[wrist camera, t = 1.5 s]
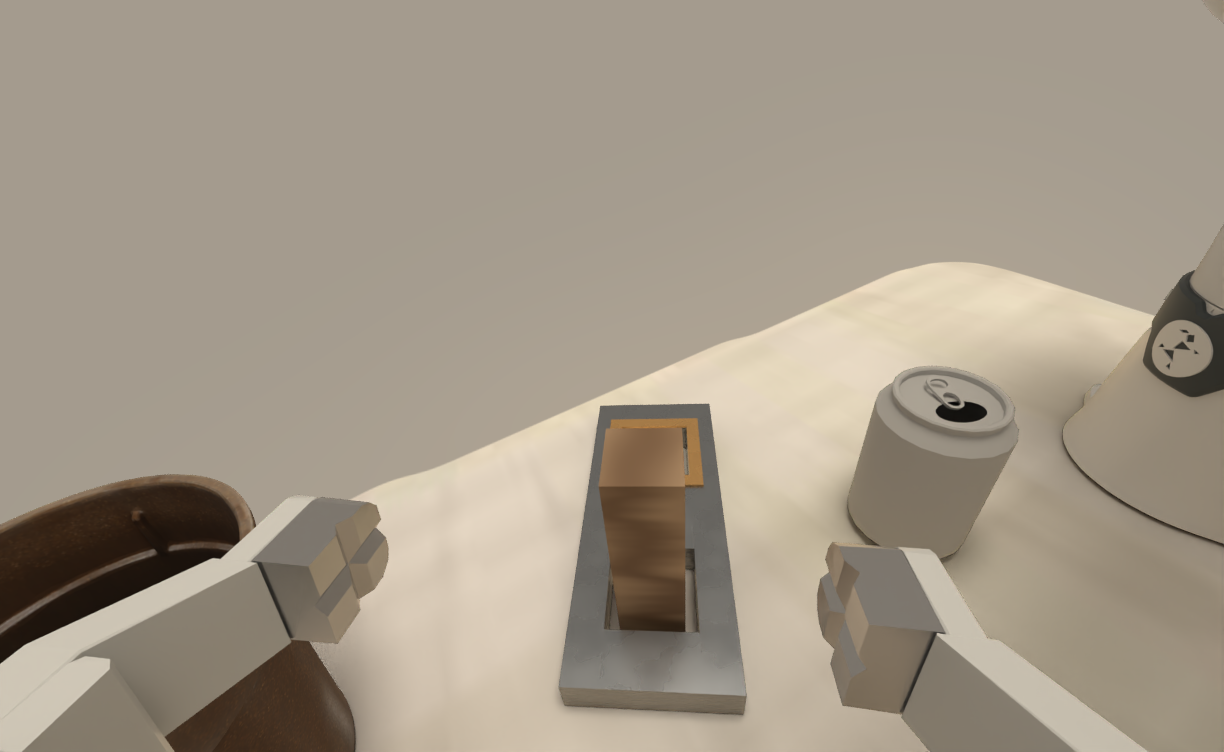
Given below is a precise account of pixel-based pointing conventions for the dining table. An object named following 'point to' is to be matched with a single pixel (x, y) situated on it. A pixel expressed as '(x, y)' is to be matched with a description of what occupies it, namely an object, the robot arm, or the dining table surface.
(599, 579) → the metal plate
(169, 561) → the plant pot
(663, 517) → the walnut peg
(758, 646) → the dining table surface
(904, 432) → the can
